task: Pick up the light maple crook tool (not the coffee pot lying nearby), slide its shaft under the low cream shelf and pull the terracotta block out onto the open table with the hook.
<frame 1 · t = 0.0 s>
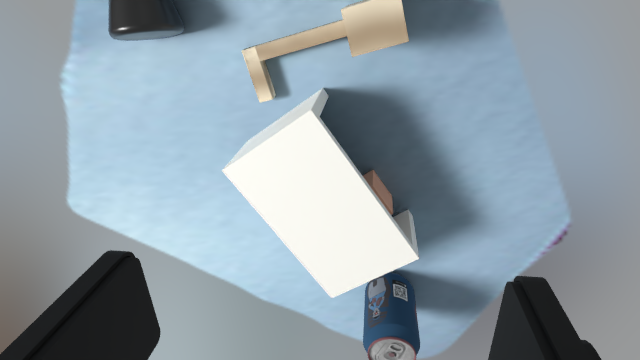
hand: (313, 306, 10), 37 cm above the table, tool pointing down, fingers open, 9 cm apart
crook tool: (375, 18, 41), on the table
block: (367, 190, 50), on the table
soda can: (389, 286, 57), on the table
shelf cubby: (331, 179, 50), on the table
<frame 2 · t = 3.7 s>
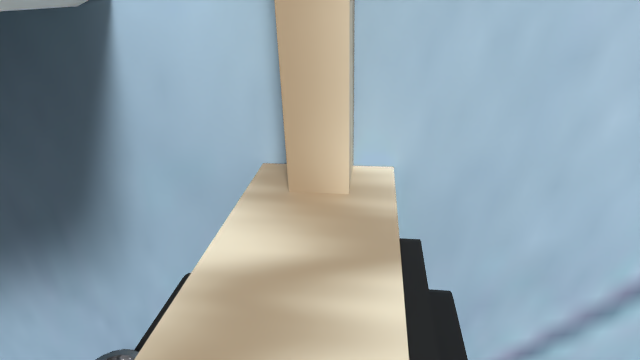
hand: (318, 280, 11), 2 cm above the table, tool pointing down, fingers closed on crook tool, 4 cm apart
crook tool: (328, 233, 13), on the table, touching gripper
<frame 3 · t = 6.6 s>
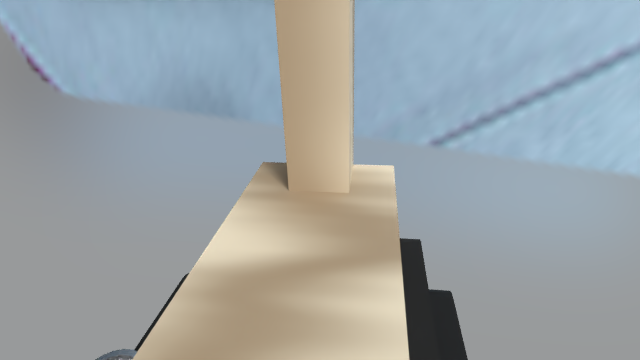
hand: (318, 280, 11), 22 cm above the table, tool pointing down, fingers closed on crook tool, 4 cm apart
crook tool: (328, 232, 13), point 19 cm above the table, touching gripper
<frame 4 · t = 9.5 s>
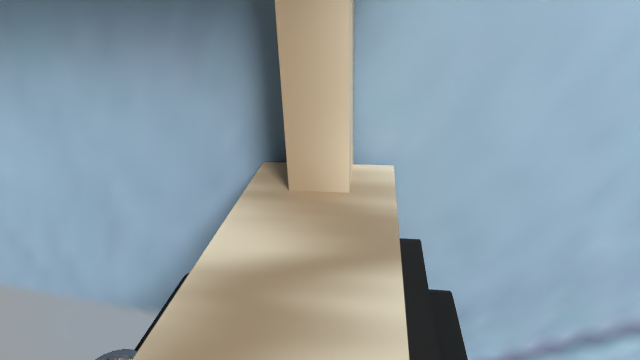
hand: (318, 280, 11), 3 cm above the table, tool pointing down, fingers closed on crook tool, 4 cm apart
crook tool: (328, 232, 13), on the table, touching gripper
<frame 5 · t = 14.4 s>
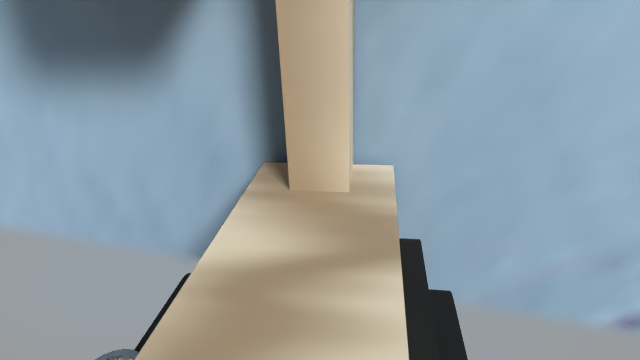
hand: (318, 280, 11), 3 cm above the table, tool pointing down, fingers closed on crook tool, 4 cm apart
crook tool: (328, 231, 13), on the table, touching gripper
when the fingers open (3 cm above the table, at t = 15.3 s): crook tool stays where it is, on the table.
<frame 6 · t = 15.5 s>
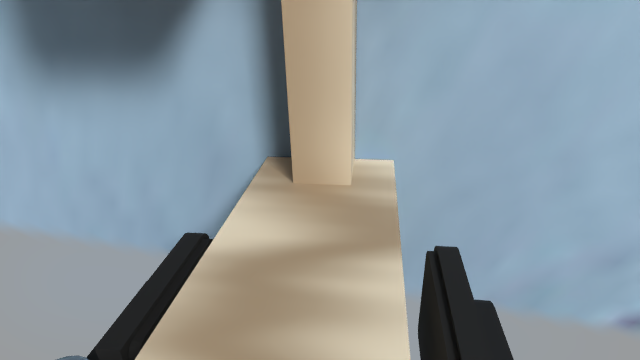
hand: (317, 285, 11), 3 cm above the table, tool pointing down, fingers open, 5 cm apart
crook tool: (330, 225, 13), on the table
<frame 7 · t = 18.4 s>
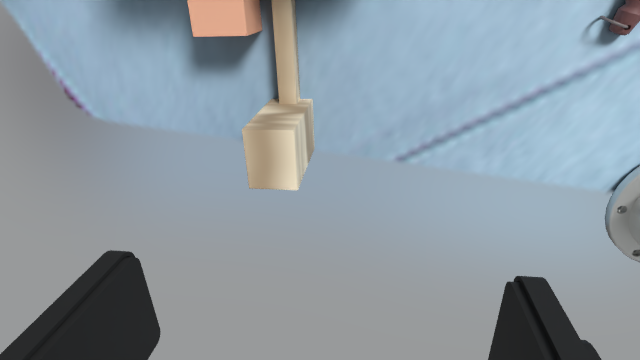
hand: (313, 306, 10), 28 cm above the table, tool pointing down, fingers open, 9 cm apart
crook tool: (293, 124, 38), on the table
block: (235, 3, 34), on the table
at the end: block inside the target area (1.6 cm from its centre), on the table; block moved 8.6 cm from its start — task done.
